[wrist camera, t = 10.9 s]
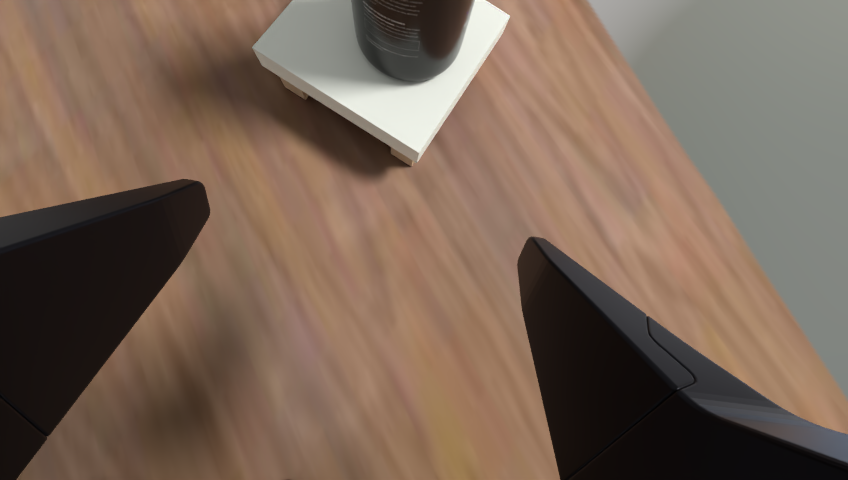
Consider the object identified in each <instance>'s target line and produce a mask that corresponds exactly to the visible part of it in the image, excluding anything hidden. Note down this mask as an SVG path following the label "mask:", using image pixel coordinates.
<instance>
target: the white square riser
mask: <svg viewBox="0 0 848 480" xmlns="http://www.w3.org/2000/svg"><path fill="white" fill-rule="evenodd" d="M509 18H510V16H509V15H508V14H506V13H505V12H503V11H501V10H500V9H498V8H497V7H495V6H494V5H492V4H491V3H489V2H488V1H486V0H475V2H474V5H473V8H472V12H471V15H470V19H469V22H468V25H467V29H466V32H465V36H464V39H463V42H462V45H461V48H460V51H459V53H458V55H457V57H456V59H455V60H454V62H453V63H452V64H451V65H450V67H449V68H448V69H446V70H445V71H444V72H442V73H441V74H439V75H437V76H436V77H433V78H431V79H428V80H423V81H403V80H398V79H395V78H392V77H390V76H387V75H386V74H384V73H382V72H380V71H379V70H378V69H376V68H375V67H374V66H373V65H372V64H371V63H370V62H369V61H368V60H367V59H366V57H365V56H364V54H363V53H362V51H361V49H360V47H359V45H358V41H357V38H356V33H355V26H354V19H353V11H352V3H351V0H292V2H291V3H290V4H289V5H288V6H287V7H286V8H285V10H284V11H283V12H282V13H281V14H280V15H279V17H278V18H277V19H276V20H275V21H274V22H273V24H272V25H271V26H270V27H269V28H268V29H267V31H266V32H265V33H264V34H263V35H262V36H261V38H260V39H259V40H258V41H257V42H256V43H255V45H254V46H253V47H252V49H253V50H254V52H255V54H256V56H257V57H258V59H259V61H260V63H261V65H262V66H263V67H265V68H267V69H268V70H270V71H271V72H273V73H275V74H276V75H278V76H279V77H280V79H281V81H282V83H283V85H284V87H286V88H287V89H289V90H291V91H292V92H294V93H295V94H297V95H298V96H300V97H302V98H303V99H305V100H306V99H307V97H308V96H311V97H313V98H314V99H316V100H317V101H319V102H321V103H322V104H324V105H325V106H327V107H328V108H330V109H332V110H333V111H335V112H336V113H338V114H340V115H341V116H343V117H344V118H346V119H348V120H349V121H351V122H352V123H354V124H355V125H357V126H359V127H360V128H362V129H363V130H365V131H367V132H368V133H370V134H371V135H373V136H374V137H376V138H378V139H379V140H381V141H382V142H384V143H386V144H387V145H389V146H390V147H391V154H392V155H394V156H395V157H397V158H398V159H400V160H402V161H403V162H405V163H406V164H408V165H410V166H411V167H412V165H413V164H414V162H416V163H417V162H418V160H419V159H420V157H421V156H422V154H423V153H424V151H425V150H426V148H427V147H428V145H429V144H430V142H431V141H432V139H433V138H434V136H435V135H436V133H437V132H438V130H439V129H440V127H441V126H442V124H443V123H444V121H445V120H446V118H447V117H448V115H449V114H450V112H451V111H452V109H453V108H454V106H455V105H456V103H457V102H458V100H459V99H460V97H461V95H462V94H463V92H464V91H465V89H466V88H467V86H468V85H469V83H470V82H471V80H472V79H473V77H474V76H475V74H476V73H477V71H478V70H479V68H480V67H481V65H482V64H483V62H484V61H485V59H486V58H487V56H488V55H489V53H490V52H491V50H492V49H493V47H494V46H495V44H496V43H497V41H498V40H499V38H500V37H501V35H502V33H503V31H504V29H505V27H506V24H507V22H508V20H509Z"/></svg>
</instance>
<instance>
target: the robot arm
mask: <svg viewBox="0 0 848 480" xmlns="http://www.w3.org/2000/svg"><path fill="white" fill-rule="evenodd" d="M209 215H210V207H209V203H208V199H207V194H206V190H205V187H204V185H203V184H202V183H201V182H199V181H194V180H188V179H181V180H176V181H171V182H166V183H162V184H157V185H152V186H147V187H143V188H138V189H133V190H128V191H124V192H119V193H114V194H109V195H105V196H100V197H95V198H90V199H86V200H81V201H76V202H71V203H67V204H62V205H57V206H52V207H47V208H43V209H38V210H33V211H28V212H24V213H19V214H14V215H9V216H5V217H0V480H16V479H17V478H18V476H19V475H20V474H21V472H22V471H23V470H24V468H25V467H26V466H27V465H28V463H29V462H30V461H31V459H32V458H33V457H34V455H35V454H36V453H37V451H38V450H39V449H40V448H41V446H42V445H43V444H44V442H45V441H46V440H47V437H46V436H49V435H50V434H51V433H52V431H53V430H54V429H55V428H56V426H57V425H58V424H59V422H60V421H61V420H62V418H63V417H64V416H65V414H66V413H67V412H68V411H69V409H70V408H71V407H72V405H73V404H74V403H75V401H76V400H77V399H78V397H79V396H80V395H81V394H82V392H83V391H84V390H85V388H86V387H87V386H88V384H89V383H90V382H91V381H92V379H93V378H94V377H95V375H96V374H97V373H98V371H99V370H100V369H101V367H102V366H103V365H104V364H105V362H106V361H107V360H108V358H109V357H110V356H111V354H112V353H113V352H114V351H115V349H116V348H117V347H118V345H119V344H120V343H121V341H122V340H123V339H124V337H125V336H126V335H127V334H128V332H129V331H130V330H131V328H132V327H133V326H134V324H135V323H136V322H137V321H138V319H139V318H140V317H141V315H142V314H143V313H144V311H145V310H146V309H147V307H148V306H149V305H150V304H151V302H152V301H153V300H154V298H155V297H156V296H157V294H158V293H159V292H160V290H161V289H162V288H163V287H164V285H165V284H166V283H167V281H168V280H169V279H170V277H171V276H172V275H173V274H174V272H175V271H176V270H177V268H178V267H179V265H180V264H181V263H182V261H183V260H184V258H185V257H186V255H187V253H188V252H189V250H190V248H191V247H192V245H193V243H194V242H195V240H196V238H197V237H198V235H199V233H200V232H201V230H202V228H203V226H204V225H205V223H206V221H207V220H208V218H209ZM517 266H518V276H519V286H520V296H521V305H522V312H523V317H524V321H525V326H526V330H527V334H528V339H529V343H530V348H531V352H532V356H533V361H534V365H535V370H536V374H537V378H538V383H539V387H540V392H541V396H542V400H543V405H544V409H545V414H546V418H547V422H548V427H549V431H550V436H551V440H552V445H553V449H554V453H555V458H556V462H557V467H558V471H559V475H560V480H848V434H844V433H841V432H837V431H834V430H831V429H827V428H824V427H822V426H819V425H816V424H814V423H811V422H809V421H807V420H805V419H802V418H800V417H798V416H796V415H794V414H792V413H790V412H788V411H787V410H785V409H783V408H781V407H780V406H778V405H777V404H775V403H773V402H772V401H770V400H769V399H767V398H766V397H764V396H763V395H761V394H760V393H758V392H757V391H755V390H754V389H752V388H751V387H750V386H748V385H747V384H745V383H744V382H742V381H741V380H739V379H738V378H736V377H735V376H733V375H732V374H730V373H729V372H727V371H726V370H724V369H723V368H721V367H720V366H718V365H717V364H715V363H714V362H712V361H711V360H709V359H708V358H707V357H705V356H704V355H702V354H701V353H699V352H698V351H696V350H695V349H693V348H692V347H691V346H689V345H688V344H686V343H685V342H683V341H682V340H681V339H679V338H678V337H676V336H675V335H674V334H672V333H671V332H670V331H668V330H667V329H665V328H664V327H663V326H661V325H660V324H659V323H657V322H656V321H655V320H653V319H652V318H651V317H649V316H647V317H646V314H645V313H644V312H642V311H641V310H640V309H638V308H637V307H636V306H634V305H633V304H632V303H630V302H629V301H628V300H626V299H625V298H623V297H622V296H621V295H619V294H618V293H617V292H615V291H614V290H613V289H611V288H610V287H609V286H607V285H606V284H605V283H603V282H602V281H601V280H599V279H598V278H597V277H595V276H594V275H593V274H591V273H590V272H589V271H587V270H586V269H585V268H583V267H582V266H580V265H579V264H578V263H576V262H575V261H574V260H572V259H571V258H570V257H568V256H567V255H566V254H564V253H563V252H562V251H560V250H559V249H558V248H556V247H555V246H554V245H552V244H551V243H550V242H548V241H547V240H546V239H544V238H539V237H529V238H528V239H527V241H526V243H525V245H524V247H523V250H522V252H521V254H520V256H519V259H518V264H517Z"/></svg>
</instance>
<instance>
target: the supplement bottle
mask: <svg viewBox="0 0 848 480" xmlns="http://www.w3.org/2000/svg"><path fill="white" fill-rule="evenodd" d="M474 2H475V0H351V3H352V11H353V19H354V26H355V33H356V38H357V41H358V45H359V47H360V49H361V51H362V53H363V54H364V56H365V57H366V59H367V60H368V61H369V62H370V63H371V64H372V65H373V66H374V67H375V68H376V69H378V70H379V71H380V72H382V73H384V74H386V75H387V76H390V77H392V78H395V79H398V80H403V81H423V80H428V79H431V78H433V77H436V76H437V75H439V74H441V73H442V72H444V71H445V70H446V69H448V68H449V67H450V65H451V64H452V63H453V62H454V60H455V59H456V57H457V55H458V53H459V51H460V48H461V45H462V42H463V39H464V36H465V32H466V29H467V25H468V22H469V19H470V15H471V12H472V8H473V5H474Z"/></svg>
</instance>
